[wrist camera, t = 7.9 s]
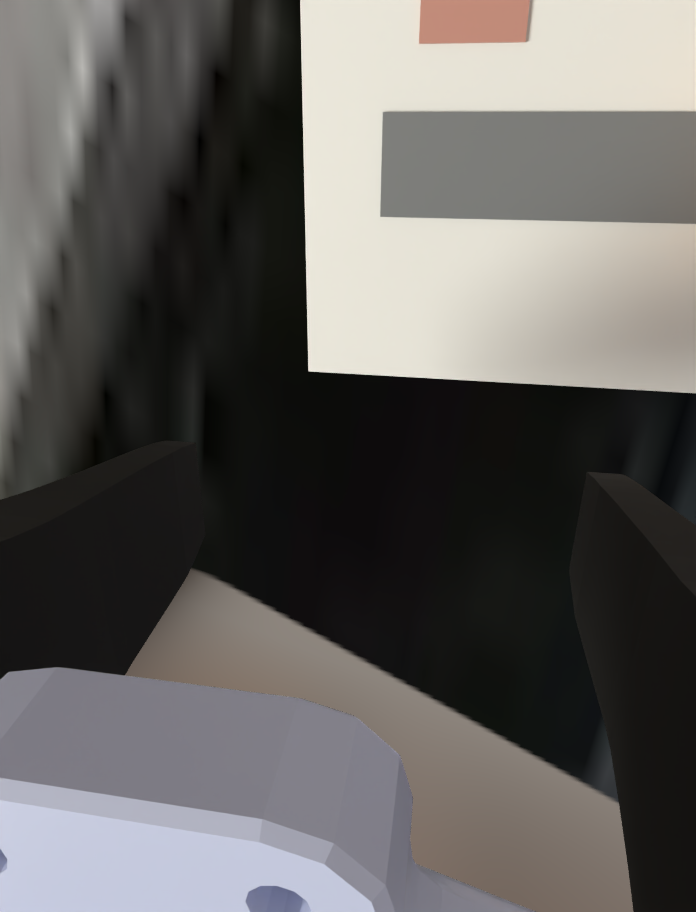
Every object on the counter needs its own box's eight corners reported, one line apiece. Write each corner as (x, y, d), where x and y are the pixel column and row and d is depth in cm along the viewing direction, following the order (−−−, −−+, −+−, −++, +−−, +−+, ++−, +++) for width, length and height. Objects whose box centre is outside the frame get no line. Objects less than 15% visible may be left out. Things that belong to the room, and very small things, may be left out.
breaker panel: (875, 380, 19) (920, 407, 17) (321, 351, 21) (307, 372, 19) (1058, -115, 14) (1149, -154, 12) (316, -82, 16) (296, -111, 14)
